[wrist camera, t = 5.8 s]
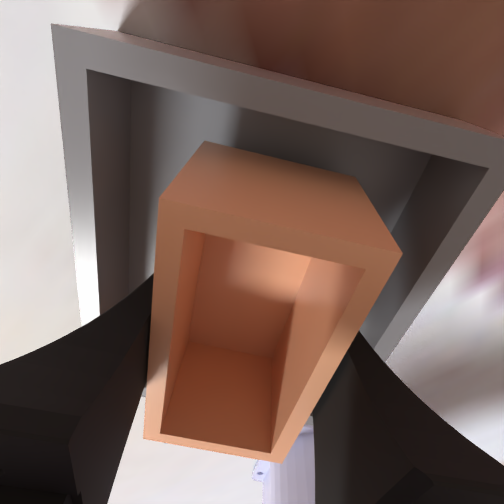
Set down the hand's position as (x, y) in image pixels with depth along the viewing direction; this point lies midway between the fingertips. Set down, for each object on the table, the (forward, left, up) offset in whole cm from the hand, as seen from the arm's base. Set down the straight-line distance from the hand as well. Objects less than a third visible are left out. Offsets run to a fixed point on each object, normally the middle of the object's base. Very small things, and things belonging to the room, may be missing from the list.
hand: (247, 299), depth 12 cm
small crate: (0, 0, -2) cm, 2 cm away
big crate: (0, 0, -4) cm, 4 cm away
